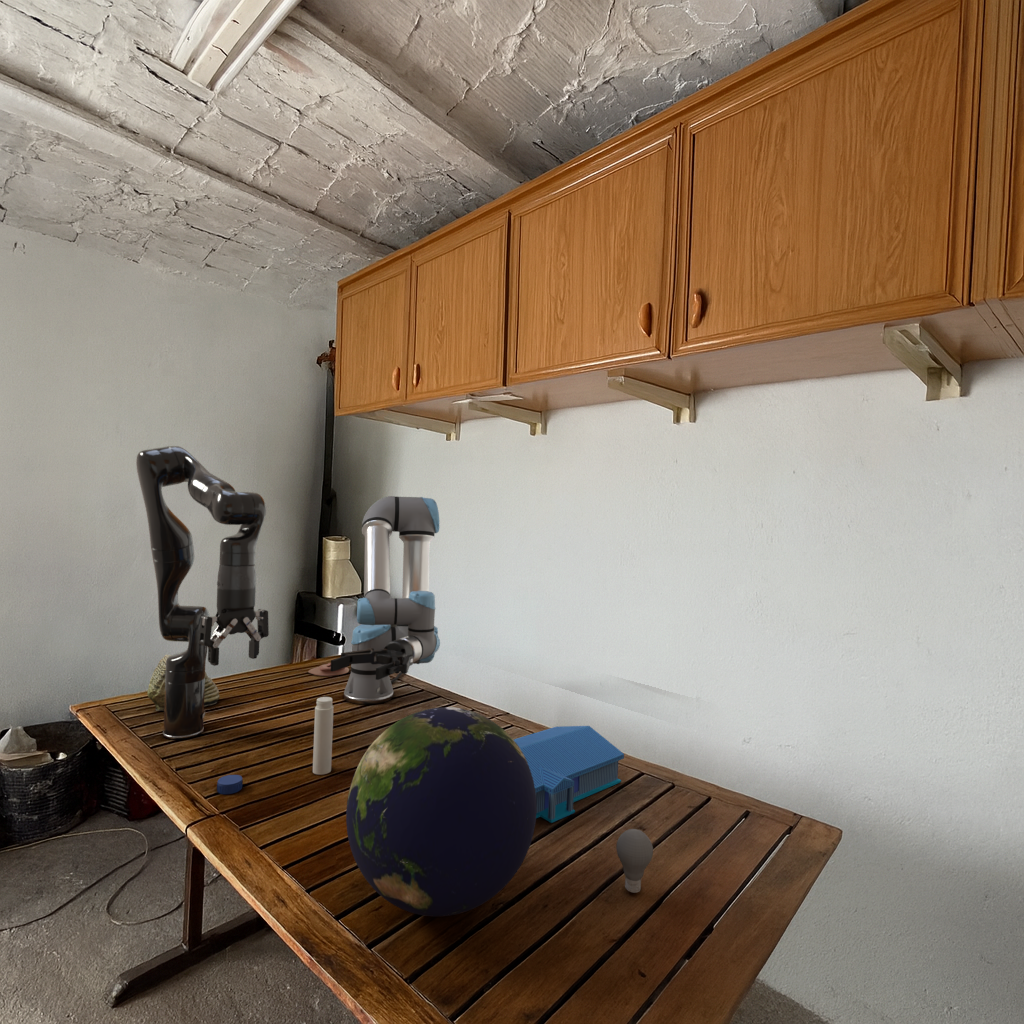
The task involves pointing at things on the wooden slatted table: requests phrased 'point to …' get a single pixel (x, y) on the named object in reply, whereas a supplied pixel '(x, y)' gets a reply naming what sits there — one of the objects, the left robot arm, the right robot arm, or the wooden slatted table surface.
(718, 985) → the wooden slatted table surface
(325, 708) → the white tube
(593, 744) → the model building
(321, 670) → the anatomical model
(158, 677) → the fossil
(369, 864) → the globe
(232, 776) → the lid
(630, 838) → the light bulb
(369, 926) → the wooden slatted table surface
